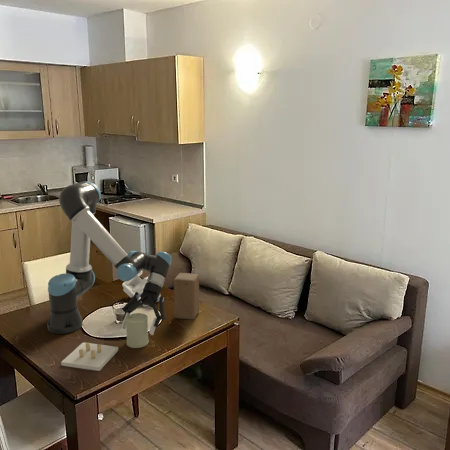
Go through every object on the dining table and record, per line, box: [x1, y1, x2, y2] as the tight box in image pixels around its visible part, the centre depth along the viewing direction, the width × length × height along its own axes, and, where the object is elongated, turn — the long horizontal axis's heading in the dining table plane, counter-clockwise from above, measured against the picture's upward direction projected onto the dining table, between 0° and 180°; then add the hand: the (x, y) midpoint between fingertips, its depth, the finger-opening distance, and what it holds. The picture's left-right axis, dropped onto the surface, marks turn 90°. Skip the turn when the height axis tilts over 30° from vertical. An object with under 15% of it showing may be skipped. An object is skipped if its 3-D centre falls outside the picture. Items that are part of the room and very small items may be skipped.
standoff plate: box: [60, 341, 119, 372], centre depth 183 cm, size 16×16×4 cm
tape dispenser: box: [121, 270, 162, 308], centre depth 238 cm, size 20×11×13 cm, turn 56°
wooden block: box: [173, 272, 200, 320], centre depth 220 cm, size 10×10×20 cm
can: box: [125, 312, 150, 349], centre depth 194 cm, size 9×9×12 cm
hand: (136, 331), depth 193 cm, fingers open, 13 cm apart
